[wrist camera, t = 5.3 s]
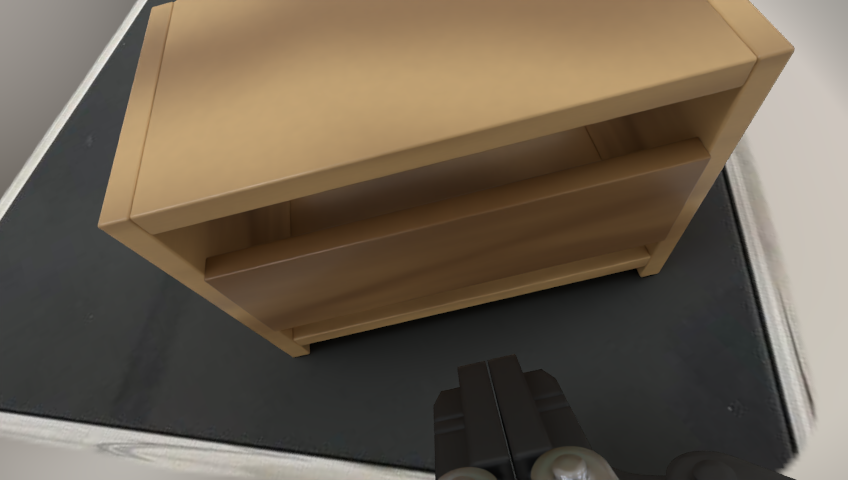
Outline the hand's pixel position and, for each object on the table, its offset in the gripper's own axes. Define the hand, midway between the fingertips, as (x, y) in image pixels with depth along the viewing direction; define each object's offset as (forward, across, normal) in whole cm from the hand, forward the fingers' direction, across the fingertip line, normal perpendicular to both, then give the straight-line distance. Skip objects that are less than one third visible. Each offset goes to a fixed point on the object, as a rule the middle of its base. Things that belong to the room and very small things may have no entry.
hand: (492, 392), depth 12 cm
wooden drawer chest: (+11, 0, -2) cm, 11 cm away
